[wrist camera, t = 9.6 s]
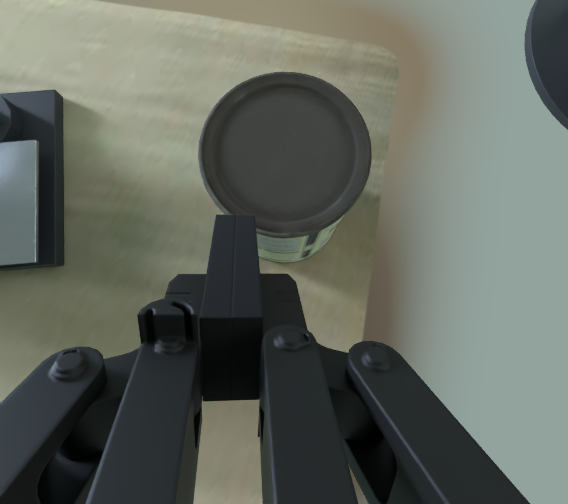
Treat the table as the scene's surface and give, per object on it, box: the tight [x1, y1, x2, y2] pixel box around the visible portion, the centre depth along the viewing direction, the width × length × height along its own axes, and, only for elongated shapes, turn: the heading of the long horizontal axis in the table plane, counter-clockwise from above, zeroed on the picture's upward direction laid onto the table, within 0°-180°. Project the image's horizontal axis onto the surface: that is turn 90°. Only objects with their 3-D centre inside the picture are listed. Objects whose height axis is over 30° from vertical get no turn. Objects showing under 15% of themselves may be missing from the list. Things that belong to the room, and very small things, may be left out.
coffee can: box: [198, 72, 371, 263], centre depth 29 cm, size 10×10×14 cm
